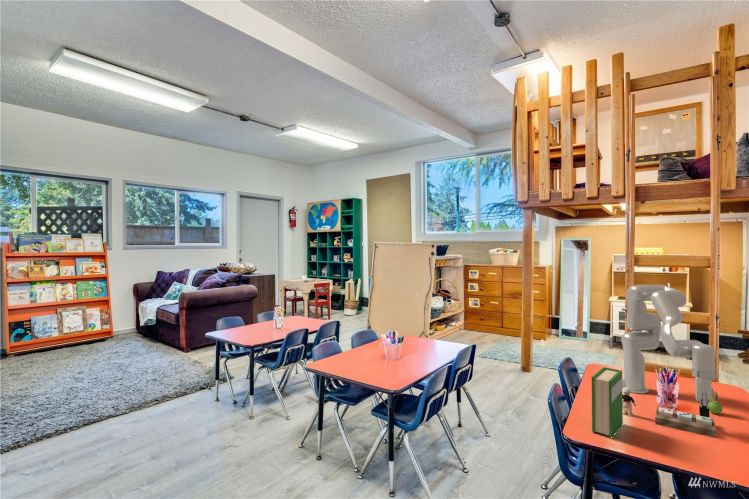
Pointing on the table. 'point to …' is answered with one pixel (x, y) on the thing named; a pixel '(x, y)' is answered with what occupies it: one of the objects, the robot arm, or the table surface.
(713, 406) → the snail figurine
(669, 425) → the counting board
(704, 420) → the cream knobbed tile
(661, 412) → the two dot tile
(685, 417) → the three dot tile
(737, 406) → the table surface
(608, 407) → the hardback book
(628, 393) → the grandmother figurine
